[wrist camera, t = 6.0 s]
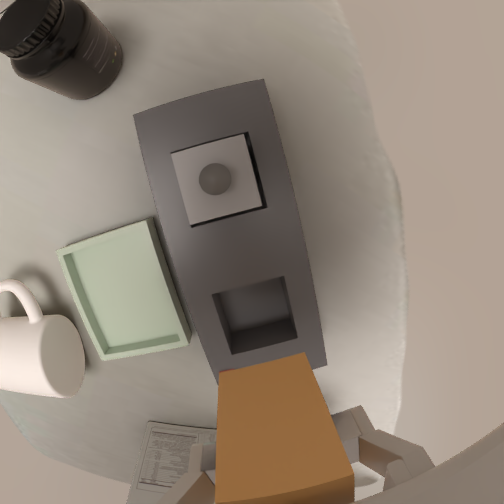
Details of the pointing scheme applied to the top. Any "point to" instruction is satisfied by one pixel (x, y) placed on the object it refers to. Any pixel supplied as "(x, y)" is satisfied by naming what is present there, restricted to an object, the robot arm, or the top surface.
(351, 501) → the plug
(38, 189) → the top surface
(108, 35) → the supplement bottle
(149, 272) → the tray
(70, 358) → the mug
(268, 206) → the strip
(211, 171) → the gray knobbed block
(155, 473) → the supplement box
